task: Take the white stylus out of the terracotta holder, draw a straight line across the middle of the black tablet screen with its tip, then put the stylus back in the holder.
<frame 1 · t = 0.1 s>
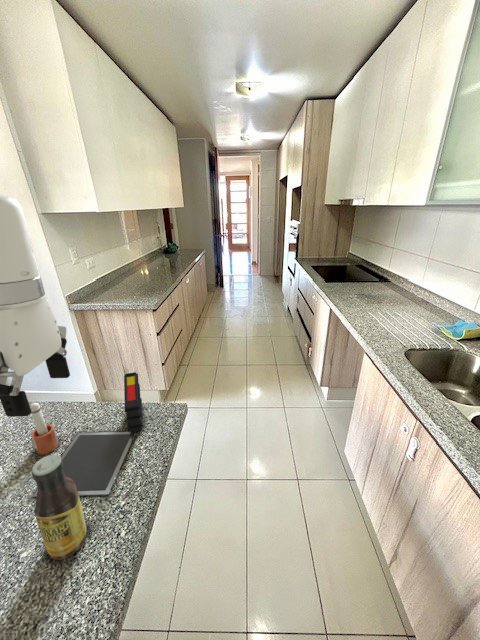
hand: (42, 394, 42), 30 cm above the countertop, tool pointing down, fingers open, 9 cm apart
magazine: (136, 422, 77), on the countertop, touching tablet
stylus: (47, 447, 68), resting on holder
holder: (48, 448, 68), on the countertop
tablet: (92, 462, 65), on the countertop
sauce bottle: (70, 543, 49), on the countertop
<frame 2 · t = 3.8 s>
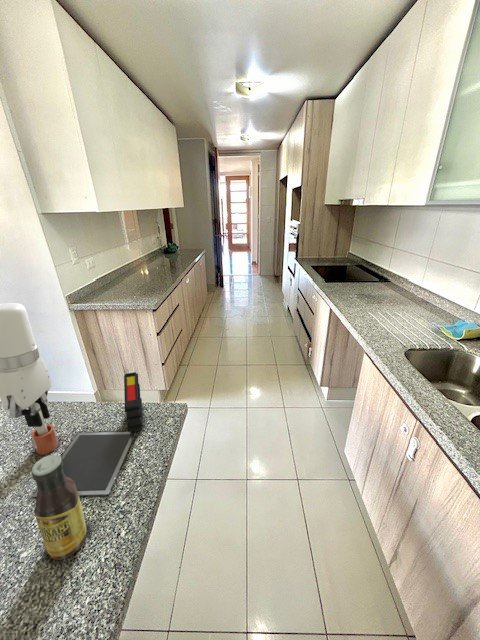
hand: (39, 421, 65), 9 cm above the countertop, tool pointing down, fingers closed on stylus, 2 cm apart
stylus: (47, 447, 68), resting on holder, touching gripper
everything else where it was.
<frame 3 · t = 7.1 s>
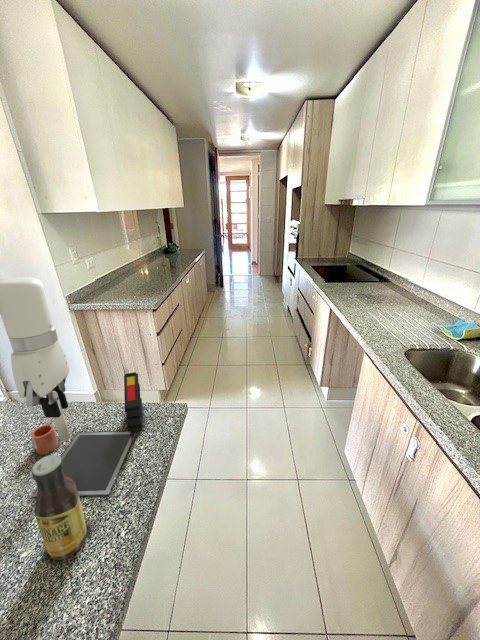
hand: (57, 411, 59), 16 cm above the countertop, tool pointing down, fingers closed on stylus
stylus: (66, 440, 62), point 7 cm above the countertop, touching gripper
everything else where it was.
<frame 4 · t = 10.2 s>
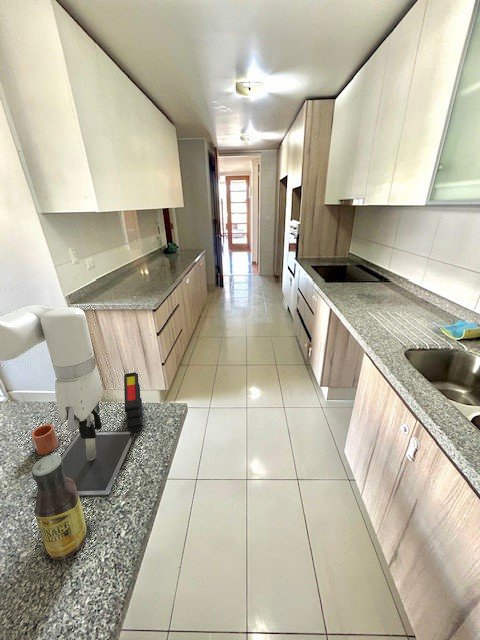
hand: (91, 432, 61), 9 cm above the countertop, tool pointing down, fingers closed on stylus, 2 cm apart
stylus: (91, 459, 64), point 1 cm above the countertop, tilted 8°, touching gripper
everything else where it was.
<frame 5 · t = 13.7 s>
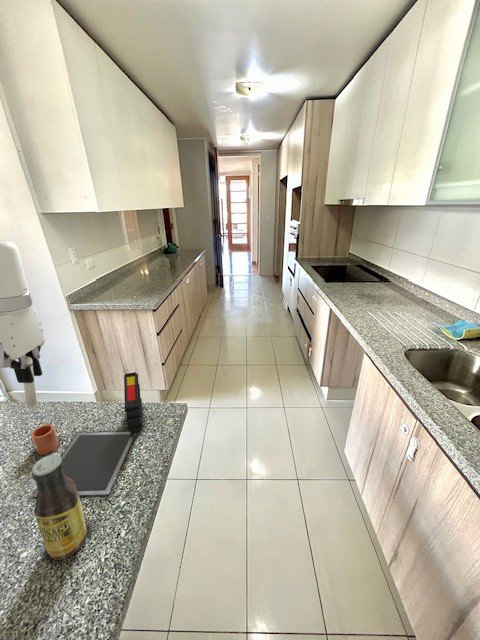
hand: (30, 378, 60), 22 cm above the countertop, tool pointing down, fingers closed on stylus
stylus: (31, 407, 63), point 14 cm above the countertop, tilted 10°, touching gripper
everything else where it was.
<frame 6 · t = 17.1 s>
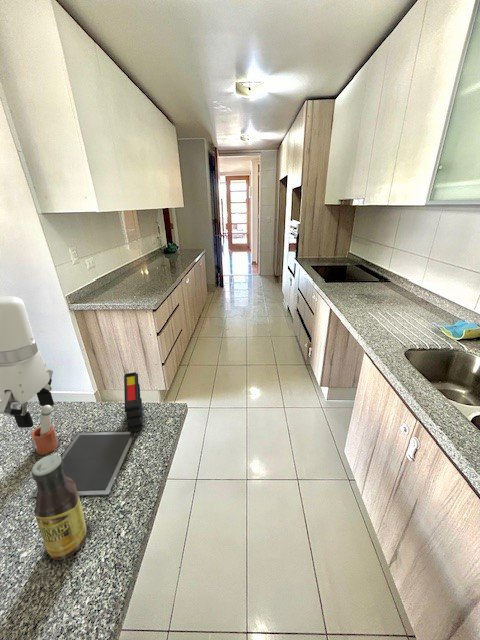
hand: (37, 414, 64), 11 cm above the countertop, tool pointing down, fingers open, 6 cm apart
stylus: (44, 447, 68), point 1 cm above the countertop, tilted 17°, touching holder
everything else where it was.
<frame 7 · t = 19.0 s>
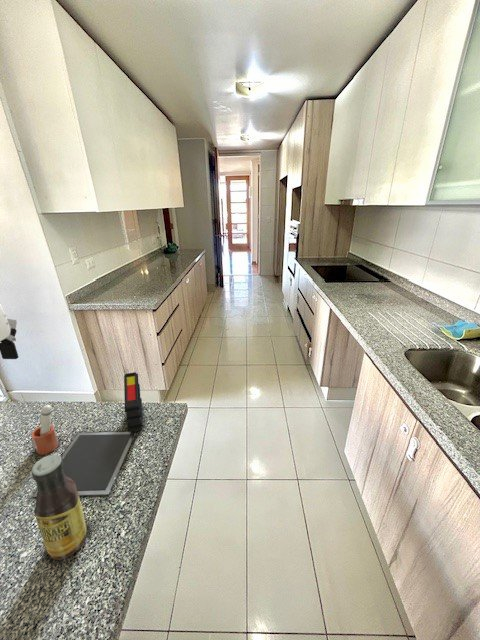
nothing on the countertop moved.
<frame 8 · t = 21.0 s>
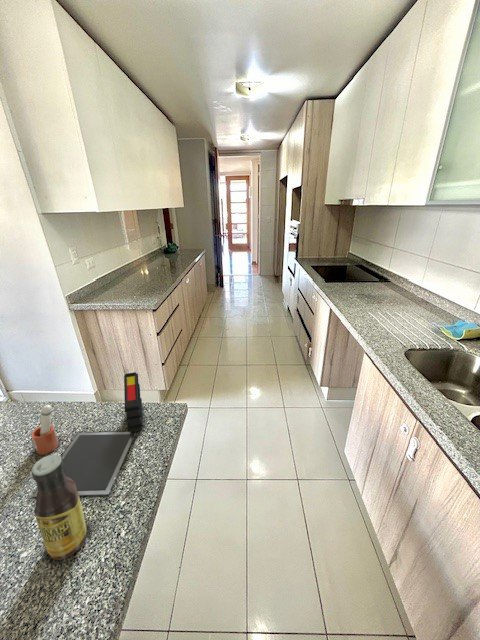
nothing on the countertop moved.
at the end: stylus 0.9 cm off-centre in the holder, point 0.5 cm above the holder's base; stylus tilted 17°; the gripper is holding nothing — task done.
